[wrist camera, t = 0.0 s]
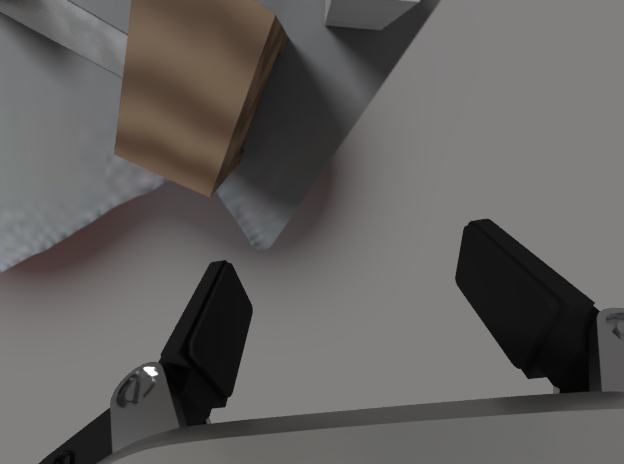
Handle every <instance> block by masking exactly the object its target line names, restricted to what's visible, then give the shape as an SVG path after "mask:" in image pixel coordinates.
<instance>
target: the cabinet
mask: <svg viewBox="0 0 624 464" xmlns="http://www.w3.org/2000/svg"><path fill="white" fill-rule="evenodd" d="M288 39H289V38H288V36H287V34H286V32H285V31H284V29H283V27H282V25H281V23H280V22H279V20H278V18H277V16H276V15H275V14H274V13H273V12H271V11H270V10H268V9H267V8H266V7H264V6H263V5H261V4H260V3H258V2H257V1H256V0H132V2H131V10H130V19H129V28H128V37H127V46H126V55H125V64H124V72H123V81H122V90H121V99H120V108H119V117H118V126H117V134H116V143H115V152H114V154H115V155H117V156H119V157H121V158H123V159H126V160H128V161H130V162H132V163H134V164H137V165H139V166H141V167H143V168H145V169H148V170H150V171H152V172H154V173H156V174H159V175H161V176H163V177H165V178H168V179H170V180H172V181H174V182H176V183H179V184H181V185H183V186H185V187H187V188H190V189H192V190H194V191H196V192H198V193H201V194H203V195H205V196H207V197H211V196H212V195H213V193H214V192H215V191H216V190H217V189H218V187H219V186H220V185H221V184H222V183H223V182H224V180H225V179H226V178H227V177H228V176H229V174H230V173H231V172H232V171H233V170H234V168H235V167H236V166H237V165H238V164H239V163H240V160H241V158H242V155H243V152H244V151H242V150H240V149H241V147H242V144H243V141H244V139H245V136H246V134H247V131H248V128H249V126H250V123H251V121H252V118H253V116H254V113H255V110H256V108H257V105H258V103H259V100H260V97H261V95H262V92H263V90H264V87H265V85H266V82H267V79H268V77H269V74H270V72H271V69H272V66H273V64H274V61H275V59H276V56H277V54H278V53H279V54H281V55H282V54H283V52H284V49H285V46H286V44H287V41H288Z"/></svg>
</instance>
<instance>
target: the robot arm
mask: <svg viewBox="0 0 624 464" xmlns="http://www.w3.org/2000/svg"><path fill="white" fill-rule="evenodd" d="M455 279H456V283H457V286H458V287H459V289H460V290H461V291H462V293H463V294H464V296H465V297H466V299H467V300H468V301H469V303H470V304H471V306H472V307H473V309H474V310H475V311H476V313H477V314H478V316H479V317H480V318H481V320H482V321H483V323H484V324H485V326H486V327H487V328H488V330H489V331H490V333H491V334H492V336H493V337H494V338H495V340H496V341H497V343H498V344H499V346H500V347H501V348H502V350H503V351H504V353H505V354H506V356H507V357H508V358H509V360H510V361H511V363H512V364H513V365H514V366H515V367H516V368H518V369H521V370H522V371H523V373H524V374H525V375H526V377H527V378H528V379H533V378H543V377H547V378H548V379H549V380H550V382H551V383H552V385H553V386H554V387H553V394H543V395H528V396H515V397H501V398H489V399H477V400H466V401H453V402H441V403H429V404H417V405H405V406H394V407H382V408H371V409H359V410H348V411H337V412H325V413H316V414H315V413H314V414H304V415H294V416H282V417H271V418H261V419H250V420H240V421H231V422H223V423H214V424H211V421H210V419H209V416H210V412H211V409H212V408H222V407H225V406H226V402H227V399H228V397H230V396H231V395H232V393H233V389H234V385H235V381H236V377H237V373H238V369H239V365H240V361H241V357H242V353H243V349H244V345H245V341H246V337H247V333H248V329H249V325H250V321H251V317H252V313H253V310H252V309H253V308H252V304H251V302H250V300H249V298H248V296H247V294H246V292H245V290H244V288H243V286H242V284H241V282H240V280H239V278H238V276H237V273H236V271H235V269H234V267H233V265H232V264H231V263H228V262H227V261H226V260H224V261H217V262H212V263H210V264H209V266H208V268H207V270H206V272H205V274H204V276H203V277H202V279H201V281H200V283H199V285H198V287H197V288H196V290H195V292H194V294H193V296H192V298H191V299H190V301H189V303H188V305H187V307H186V309H185V310H184V312H183V314H182V316H181V318H180V320H179V322H178V323H177V325H176V327H175V329H174V331H173V332H172V335H171V336H170V338H169V340H168V342H167V344H166V345H165V347H164V349H163V351H162V353H161V359H160V360H159V362H158V363H157V362H149V363H145V364H143V365H141V366H139V367H137V368H135V369H134V370H133V371H132V372H130V373H129V374H128V375H127V376H126V377H125V378H124V379H123V380H122V381H121V382H120V384H119V385H118V386H117V388H116V389H115V391H114V393H113V395H112V398H111V403H110V408H109V409H107V410H106V411H105V412H104V413H102V414H101V415H100V416H99V417H97V418H96V419H95V420H93V421H92V422H91V423H89V424H88V425H87V426H86V427H84V428H83V429H82V430H80V431H79V432H78V433H77V434H75V435H74V436H73V437H71V438H70V439H69V440H67V441H66V442H65V443H64V444H62V445H61V446H60V447H59V448H57V449H56V450H55V451H53V452H52V453H51V454H49V455H48V456H47V457H46V458H45V459H43V460H42V461H41V462H40V463H39V464H624V308H609V309H604V310H602V311H601V312H600V311H599V310H598V309H597V308H595V307H594V306H593V305H594V303H595V302H593V301H592V300H591V299H589V298H588V297H587V296H586V295H584V294H583V293H582V292H580V291H579V290H578V289H577V288H576V287H574V286H573V285H572V284H571V283H569V282H568V281H567V280H566V279H564V278H563V277H562V276H561V275H559V274H558V273H557V272H555V271H554V270H553V269H552V268H550V267H549V266H548V265H547V264H545V263H544V262H543V261H541V260H540V259H539V258H538V257H536V256H535V255H534V254H533V253H532V252H530V251H529V250H528V249H526V248H525V247H524V246H523V245H521V244H520V243H519V242H518V241H516V240H515V239H514V238H512V237H511V236H510V235H509V234H508V233H506V232H505V231H504V230H503V229H501V228H500V227H499V226H498V225H496V224H495V223H494V222H492V221H491V220H490V219H482V220H475V221H471V222H469V223H468V226H465V227H464V230H463V235H462V241H461V247H460V253H459V259H458V264H457V270H456V276H455Z"/></svg>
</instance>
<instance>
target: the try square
mask: <svg viewBox="0 0 624 464" xmlns="http://www.w3.org/2000/svg"><path fill="white" fill-rule="evenodd" d="M0 12H1V13H3V14H5V15H7V16H9V17H11V18H12V19H14V20H16V21H18V22H20V23H22V24H24V25H25V26H27V27H29V28H31V29H33V30H35V31H37V32H38V33H40V34H42V35H44V36H46V37H48V38H50V39H51V40H53V41H55V42H57V43H59V44H61V45H63V46H65V47H66V48H68V49H70V50H72V51H74V52H76V53H78V54H79V55H81V56H83V57H85V58H87V59H89V60H91V61H92V62H94V63H96V64H98V65H100V66H102V67H104V68H105V69H107V70H109V71H111V72H113V73H115V74H117V75H119V76H120V77H122V78H123V72H124V64H125V55H126V46H127V37H128V34H127V33H125V32H123V31H121V30H120V29H118V28H116V27H115V26H113V25H111V24H109V23H108V22H106V21H104V20H103V19H101V18H99V17H97V16H96V15H94V14H92V13H91V12H89V11H87V10H85V9H84V8H82V7H80V6H79V5H77V4H75V3H74V2H72V1H70V0H0Z"/></svg>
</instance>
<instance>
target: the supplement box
mask: <svg viewBox="0 0 624 464" xmlns="http://www.w3.org/2000/svg"><path fill="white" fill-rule="evenodd" d="M419 2H420V0H326V4H325V22H324V25H328V26H339V27H349V28H359V29H369V30H382V29H383V28H385V27H386V26H388V25H389V24H390V23H392V22H393V21H394V20H396V19H397V18H398V17H400V16H401V15H403V14H404V13H405V12H407V11H408V10H409V9H411V8H412V7H413V6H415V5H416V4H418V3H419Z"/></svg>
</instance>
